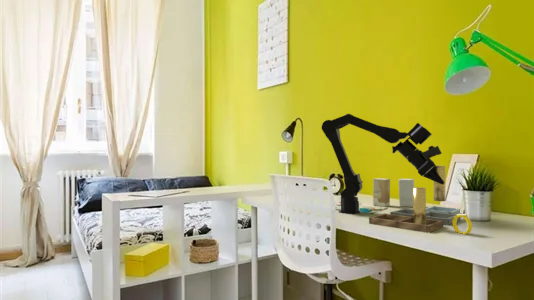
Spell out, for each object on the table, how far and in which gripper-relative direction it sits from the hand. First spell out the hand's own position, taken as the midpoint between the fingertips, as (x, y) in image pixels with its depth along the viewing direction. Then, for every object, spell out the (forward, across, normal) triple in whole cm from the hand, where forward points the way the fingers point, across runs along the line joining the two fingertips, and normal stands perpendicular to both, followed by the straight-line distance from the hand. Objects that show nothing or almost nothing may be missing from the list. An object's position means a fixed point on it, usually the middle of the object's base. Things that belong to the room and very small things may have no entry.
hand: (443, 183), depth 140 cm
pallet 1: (0, -19, +18) cm, 26 cm away
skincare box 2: (0, +24, +19) cm, 30 cm away
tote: (+9, +7, +9) cm, 15 cm away
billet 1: (+4, -21, +15) cm, 26 cm away
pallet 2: (+4, -5, +14) cm, 15 cm away
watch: (+12, -26, +6) cm, 29 cm away
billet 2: (+4, 0, +6) cm, 7 cm away
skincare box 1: (-8, +22, +27) cm, 35 cm away
